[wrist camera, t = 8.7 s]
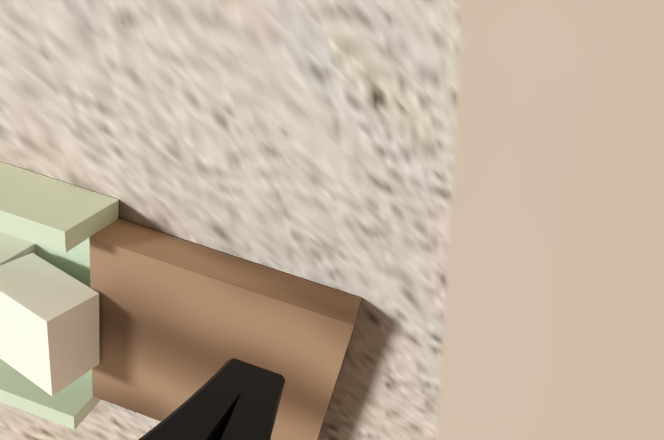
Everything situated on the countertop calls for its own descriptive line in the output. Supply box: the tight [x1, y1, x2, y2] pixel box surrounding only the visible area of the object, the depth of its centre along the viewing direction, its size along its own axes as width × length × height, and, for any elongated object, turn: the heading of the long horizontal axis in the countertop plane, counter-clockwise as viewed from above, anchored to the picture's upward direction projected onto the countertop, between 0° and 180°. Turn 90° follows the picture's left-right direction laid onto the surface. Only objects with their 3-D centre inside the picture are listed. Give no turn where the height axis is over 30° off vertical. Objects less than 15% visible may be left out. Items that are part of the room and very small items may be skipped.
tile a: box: [0, 253, 99, 396], centre depth 21 cm, size 4×4×2 cm
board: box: [89, 218, 362, 440], centre depth 22 cm, size 10×12×2 cm
